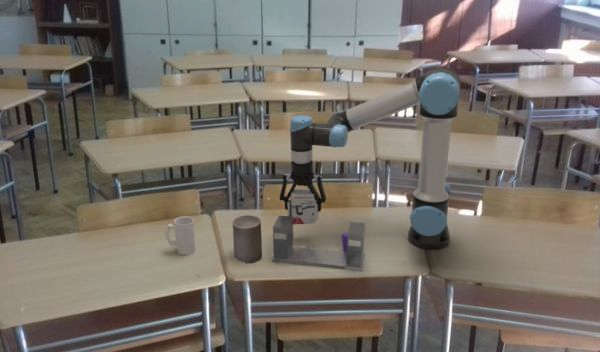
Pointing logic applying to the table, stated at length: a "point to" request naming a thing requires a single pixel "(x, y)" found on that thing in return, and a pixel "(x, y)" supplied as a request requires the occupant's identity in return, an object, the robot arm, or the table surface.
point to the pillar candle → (247, 239)
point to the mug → (183, 235)
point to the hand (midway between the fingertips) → (303, 218)
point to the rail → (318, 257)
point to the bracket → (344, 241)
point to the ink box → (302, 206)
